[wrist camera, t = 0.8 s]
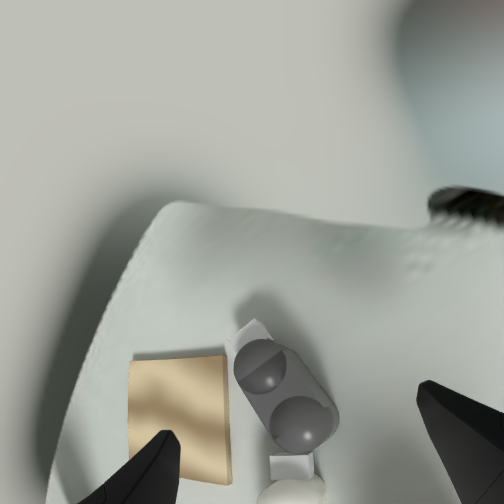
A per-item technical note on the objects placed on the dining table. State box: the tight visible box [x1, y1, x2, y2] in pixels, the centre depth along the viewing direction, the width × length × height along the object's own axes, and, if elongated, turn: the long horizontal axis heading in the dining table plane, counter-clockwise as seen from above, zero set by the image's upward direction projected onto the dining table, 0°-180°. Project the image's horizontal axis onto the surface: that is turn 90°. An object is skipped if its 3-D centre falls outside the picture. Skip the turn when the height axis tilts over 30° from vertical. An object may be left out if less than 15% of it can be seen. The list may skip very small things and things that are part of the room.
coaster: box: [128, 355, 232, 485], centre depth 23 cm, size 12×12×1 cm
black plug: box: [228, 318, 339, 453], centre depth 20 cm, size 11×4×4 cm, turn 33°
